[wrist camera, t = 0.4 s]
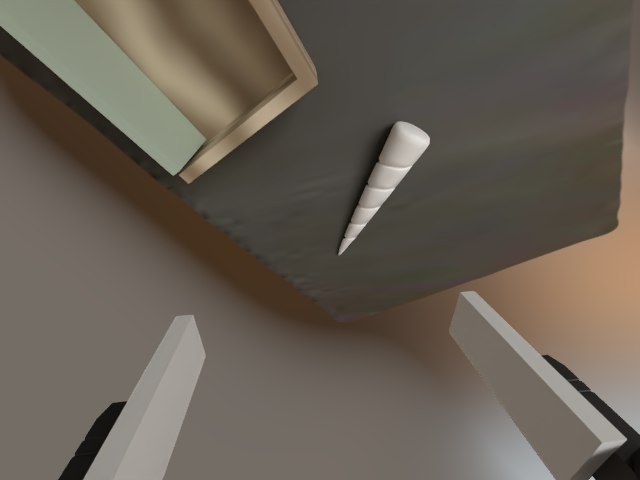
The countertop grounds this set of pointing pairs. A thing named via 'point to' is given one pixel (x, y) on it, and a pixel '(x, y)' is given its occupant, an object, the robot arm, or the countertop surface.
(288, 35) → the box
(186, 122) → the pale green panel
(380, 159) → the unicorn horn
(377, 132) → the countertop surface
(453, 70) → the countertop surface
